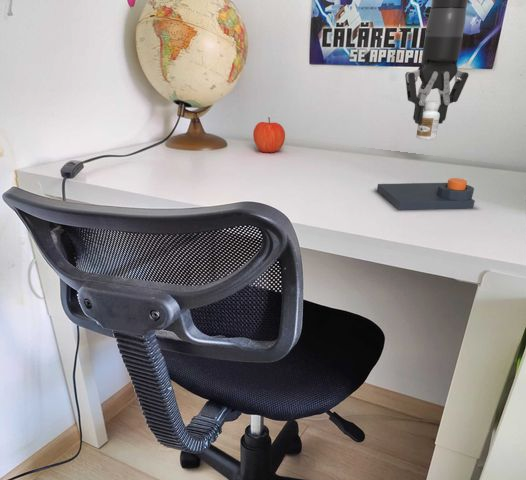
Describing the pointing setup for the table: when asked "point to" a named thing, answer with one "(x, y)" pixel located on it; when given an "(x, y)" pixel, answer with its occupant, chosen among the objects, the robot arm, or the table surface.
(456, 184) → the button
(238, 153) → the table surface
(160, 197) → the table surface
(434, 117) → the pill bottle
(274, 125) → the apple
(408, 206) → the grey button base
